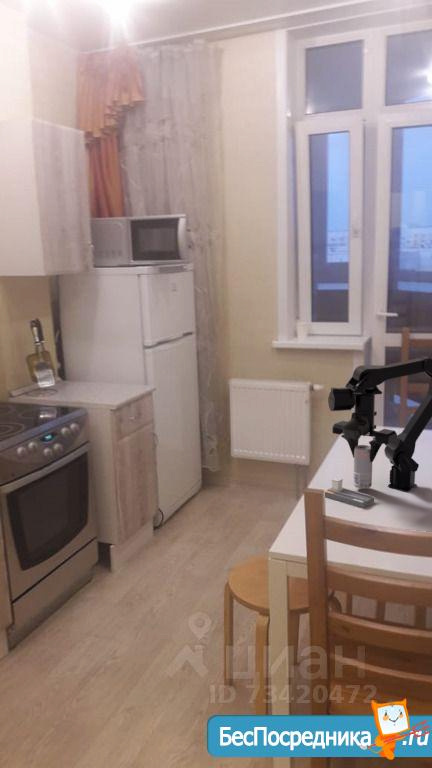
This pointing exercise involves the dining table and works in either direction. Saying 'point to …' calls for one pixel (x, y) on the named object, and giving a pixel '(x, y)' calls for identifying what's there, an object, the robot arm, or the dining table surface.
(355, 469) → the energy drink
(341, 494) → the switch plate
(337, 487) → the switch knob
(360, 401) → the robot arm
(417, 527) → the dining table surface
